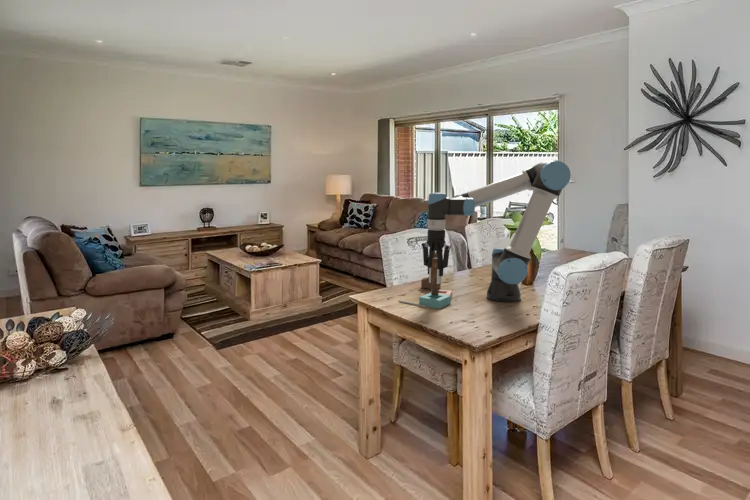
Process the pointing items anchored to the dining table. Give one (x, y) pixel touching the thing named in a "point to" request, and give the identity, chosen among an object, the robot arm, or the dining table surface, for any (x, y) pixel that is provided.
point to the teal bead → (435, 300)
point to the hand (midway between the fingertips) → (435, 282)
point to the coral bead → (445, 292)
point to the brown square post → (434, 277)
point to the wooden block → (425, 281)
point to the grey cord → (412, 303)
